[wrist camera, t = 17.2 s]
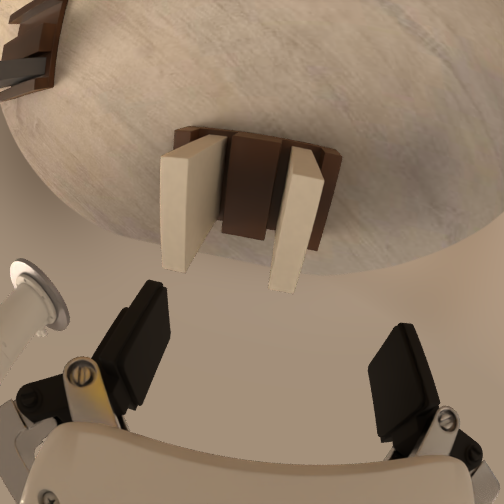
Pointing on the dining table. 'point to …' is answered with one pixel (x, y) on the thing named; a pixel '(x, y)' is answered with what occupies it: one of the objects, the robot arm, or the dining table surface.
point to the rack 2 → (262, 180)
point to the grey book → (20, 70)
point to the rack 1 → (35, 43)
